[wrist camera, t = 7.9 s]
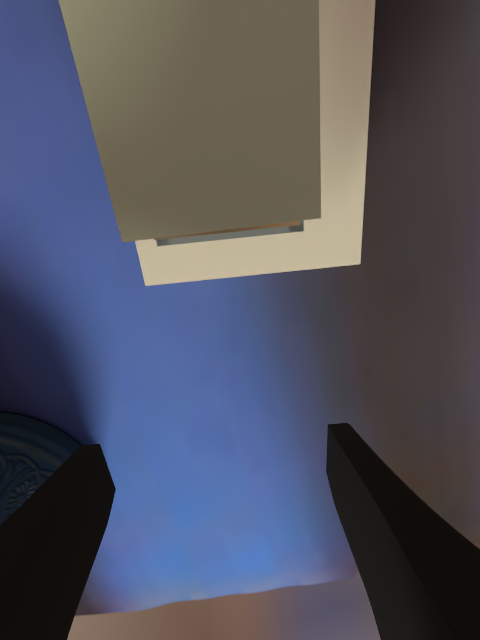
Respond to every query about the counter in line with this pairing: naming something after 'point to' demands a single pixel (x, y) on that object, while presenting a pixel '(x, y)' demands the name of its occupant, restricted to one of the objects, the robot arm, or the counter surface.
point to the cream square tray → (336, 175)
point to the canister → (28, 458)
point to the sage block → (202, 110)
